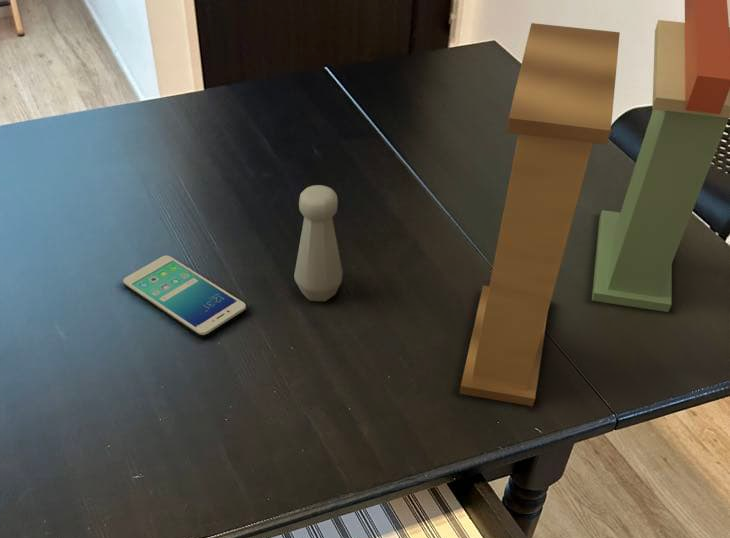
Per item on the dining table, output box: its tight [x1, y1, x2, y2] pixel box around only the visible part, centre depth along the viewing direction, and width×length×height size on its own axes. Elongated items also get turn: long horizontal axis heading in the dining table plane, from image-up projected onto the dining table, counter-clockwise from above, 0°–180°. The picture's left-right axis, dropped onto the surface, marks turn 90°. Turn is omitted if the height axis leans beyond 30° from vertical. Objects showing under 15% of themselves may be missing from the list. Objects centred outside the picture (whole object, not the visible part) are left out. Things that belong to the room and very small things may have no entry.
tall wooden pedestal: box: [459, 22, 621, 407], centre depth 82 cm, size 18×8×30 cm, turn 166°
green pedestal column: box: [591, 19, 730, 313], centre depth 94 cm, size 18×9×24 cm, turn 166°
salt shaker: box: [293, 184, 343, 302], centre depth 95 cm, size 6×6×13 cm
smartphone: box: [122, 255, 247, 339], centre depth 99 cm, size 7×1×15 cm
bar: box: [684, 0, 730, 114], centre depth 85 cm, size 28×3×3 cm, turn 166°
